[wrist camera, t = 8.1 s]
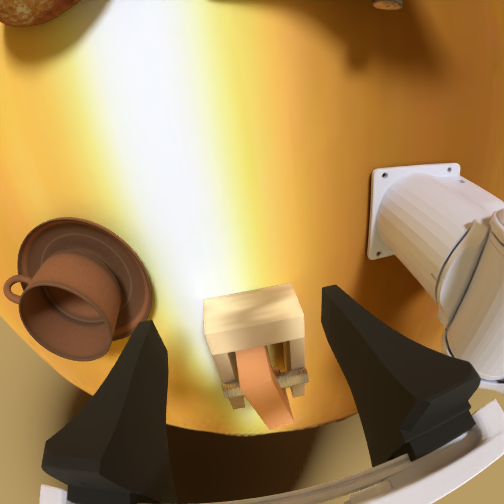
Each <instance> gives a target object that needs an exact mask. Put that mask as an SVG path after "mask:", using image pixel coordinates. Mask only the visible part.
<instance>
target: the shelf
mask: <svg viewBox="0 0 504 504" xmlns="http://www.w3.org/2000/svg"><path fill="white" fill-rule="evenodd" d="M203 300H204V332H205V337H206V340H207V343H208V345H209V348H210V351H211V353H212V356H213V359H214V361H215V364H216V367H217V369H218V372H219V374H220V377H221V380H222V382H223V384H222V386H223V393H224V396H225V398H229V400H230V402H231V404H232V407H233V409H237V408H243V407H245V404H244V398H243V396H244V394H243V392H242V391H241V389H240V382H239V375H238V368H237V364H236V361H235V357H234V354H233V352H234V351H239V350H245V349H250V348H256V347H261V346H266V345H271V344H275V343H280V342H283V352H284V363H285V370H286V372H282V373H278V374H274V375H275V377H276V379H277V381H278V383H279V385H280V387H281V388H285V387H289V386H290V388H291V392H292V396H293V398H294V397H298V396H302V395H304V386H305V383H306V382H308V381H309V380H308V374H307V370H306V368H305V349H304V314H303V311H302V309H301V306H300V304H299V301H298V299H297V296H296V294H295V291H294V289H293V286H292V284H291V283H287V284H282V285H277V286H272V287H267V288H262V289H257V290H252V291H247V292H241V293H236V294H231V295H225V296H220V297H214V298H209V299H203Z"/></svg>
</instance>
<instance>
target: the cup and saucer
mask: <svg viewBox="0 0 504 504" xmlns="http://www.w3.org/2000/svg"><path fill="white" fill-rule="evenodd" d="M17 282H20V283H21V286H22V288H23V291H24V292H23V293H22V295H21V296H18V295H16V294H13V293H12V292H11V286H12V285H13V284H15V283H17ZM3 290H4V294H5V296H6V297H7V298H8V299H9V300H10V301H12V302H14V303H17V304H19V313H20V317H21V320H22V322H23V324H24V326H25V328H26V329H27V331H28V332H29V334H30V335H31V336H32V337H33V338H34V339H35V340H36V341H37V342H38V343H39V344H40V345H42V346H43V347H44V348H46V349H47V350H49V351H50V352H52V353H54V354H56V355H58V356H60V357H63V358H66V359H70V360H74V361H92V360H96V359H98V358H101V357H102V356H104V355H105V354H106V353H107V352H108V350H109V348H110V346H111V343H112V341H114V340H119V339H122V338H125V337H127V336H129V335H131V334H132V333H133V332H134V330H135V328H136V326H137V325H138V323H139V322H143V321H146V319H147V317H148V315H149V312H150V309H151V304H152V291H151V284H150V280H149V277H148V274H147V272H146V269H145V267H144V265H143V263H142V262H141V260H140V259H139V257H138V256H137V254H136V253H135V252H134V251H133V249H132V248H131V247H130V246H129V245H128V244H127V243H126V242H125V241H124V240H123V239H121V238H120V237H119V236H118V235H116V234H115V233H113V232H112V231H110V230H109V229H107V228H105V227H103V226H101V225H99V224H97V223H94V222H92V221H89V220H85V219H80V218H73V217H63V218H56V219H52V220H49V221H46V222H44V223H42V224H40V225H38V226H37V227H35V228H34V229H33V230H32V231H31V232H30V233H29V234H28V235H27V236H26V238H25V239H24V241H23V243H22V244H21V247H20V250H19V254H18V275H15V276H12V277H11V278H9V279H8V280H7V281H6V282H5V284H4V288H3Z"/></svg>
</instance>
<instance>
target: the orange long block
mask: <svg viewBox="0 0 504 504" xmlns="http://www.w3.org/2000/svg"><path fill="white" fill-rule="evenodd" d="M235 353H236V360H237V368H238V375H239V382H240V389H241V391H242V392H243V394H244V395H245V397H246V398H247V399H248V401H249V402H250V404H251V405H252V406H253V408H254V409H255V411H256V412H257V413H258V415H259V416H260V417H261V419H262V420H263V421H264V423H265V424H266V425H267V427H268V428H269V429H273V428H277V427H280V426H284V425H287V424H291V423H294V419H293V416H292V412H291V408H290V404H289V401H288V397H287V393H286V389H285V388H281V387H280V385H279V383H278V381H277V379H276V377H275V375H274V374H278V373H281V372H280V370H279V368H278V367H276V368H273V369H272V367H271V363H270V359H269V355H268V350H267V346H261V347H256V348H250V349H245V350H239V351H235Z"/></svg>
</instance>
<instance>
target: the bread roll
mask: <svg viewBox="0 0 504 504" xmlns="http://www.w3.org/2000/svg"><path fill="white" fill-rule="evenodd" d="M79 1H80V0H0V22H2V23H4V24H6V25H10V26H30V25H35V24H40V23H43V22H46V21H49V20H51V19H53V18H55V17H57V16H59V15H60V14H62V13H63V12H64V11H66V10H68V9H69V8H70V7H71V6H72V5H74V4H76V3H78V2H79Z"/></svg>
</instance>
